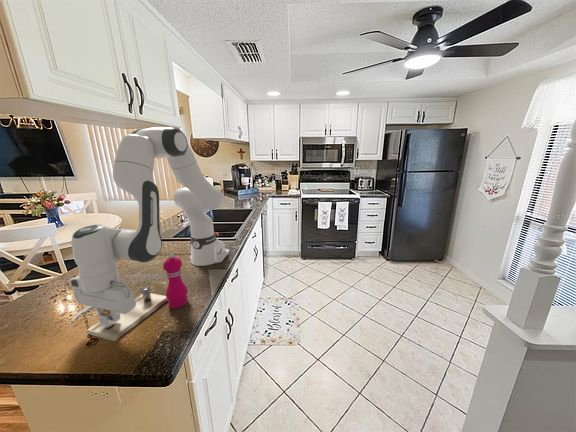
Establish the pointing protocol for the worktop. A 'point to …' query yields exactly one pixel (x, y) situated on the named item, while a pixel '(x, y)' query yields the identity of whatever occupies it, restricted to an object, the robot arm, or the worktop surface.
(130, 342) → the worktop surface
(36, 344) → the worktop surface
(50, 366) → the worktop surface
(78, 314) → the pliers
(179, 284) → the pepper mill
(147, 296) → the fixed leg
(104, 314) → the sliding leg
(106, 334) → the board
